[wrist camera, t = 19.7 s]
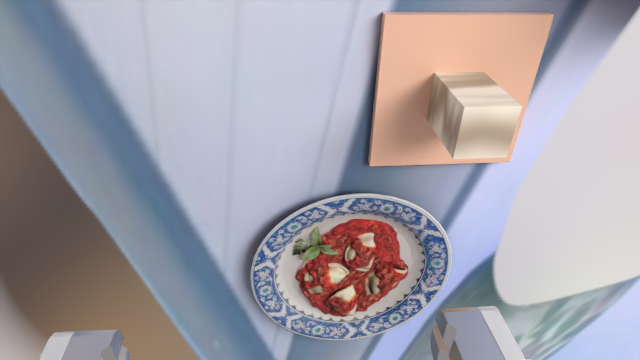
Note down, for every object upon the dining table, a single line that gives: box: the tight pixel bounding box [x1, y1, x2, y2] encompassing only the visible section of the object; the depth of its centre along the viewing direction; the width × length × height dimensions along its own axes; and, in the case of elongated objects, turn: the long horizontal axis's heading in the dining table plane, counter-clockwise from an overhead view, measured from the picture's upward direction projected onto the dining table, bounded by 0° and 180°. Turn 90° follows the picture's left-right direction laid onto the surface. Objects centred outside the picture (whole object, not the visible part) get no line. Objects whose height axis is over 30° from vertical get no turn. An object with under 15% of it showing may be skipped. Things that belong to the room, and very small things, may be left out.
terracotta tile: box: [368, 12, 554, 166], centre depth 46 cm, size 16×16×1 cm
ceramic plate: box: [250, 193, 452, 340], centre depth 57 cm, size 26×26×3 cm
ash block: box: [427, 72, 522, 159], centre depth 42 cm, size 5×5×8 cm
